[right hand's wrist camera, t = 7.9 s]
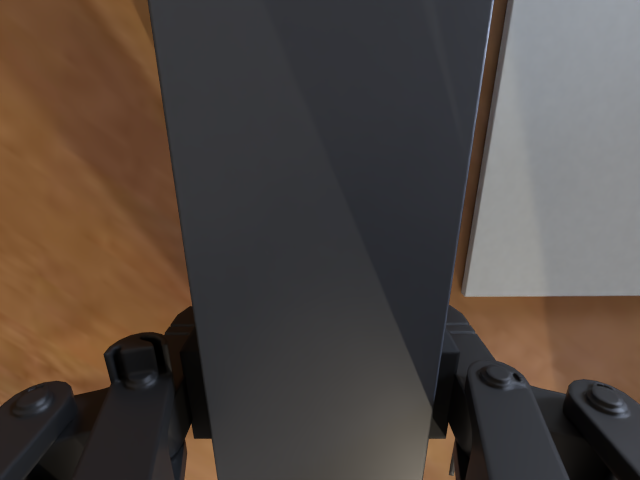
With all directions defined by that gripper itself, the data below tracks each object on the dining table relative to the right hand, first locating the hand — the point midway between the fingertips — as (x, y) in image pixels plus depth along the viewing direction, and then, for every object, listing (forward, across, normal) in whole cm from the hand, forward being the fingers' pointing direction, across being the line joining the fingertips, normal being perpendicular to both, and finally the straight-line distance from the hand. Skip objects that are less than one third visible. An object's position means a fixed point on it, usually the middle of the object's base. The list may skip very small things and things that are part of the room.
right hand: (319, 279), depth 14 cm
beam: (+3, 0, -11) cm, 12 cm away
